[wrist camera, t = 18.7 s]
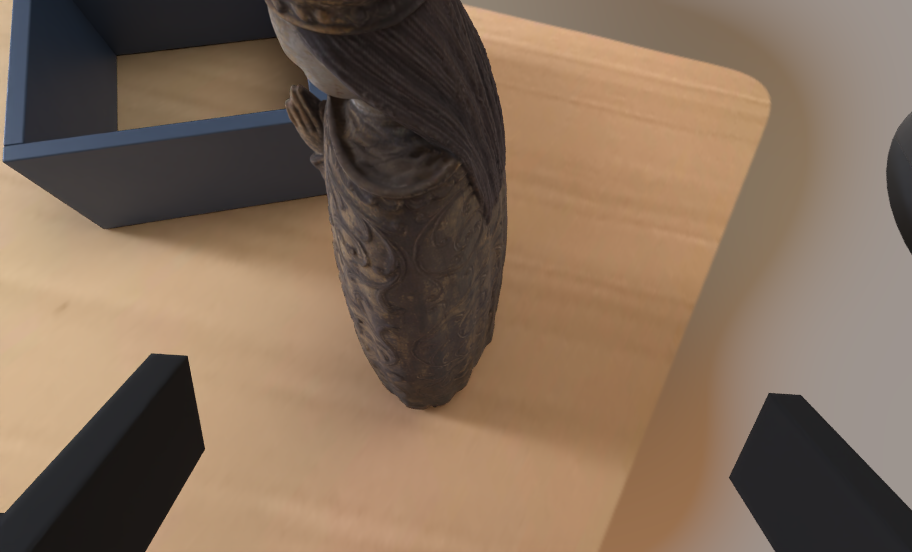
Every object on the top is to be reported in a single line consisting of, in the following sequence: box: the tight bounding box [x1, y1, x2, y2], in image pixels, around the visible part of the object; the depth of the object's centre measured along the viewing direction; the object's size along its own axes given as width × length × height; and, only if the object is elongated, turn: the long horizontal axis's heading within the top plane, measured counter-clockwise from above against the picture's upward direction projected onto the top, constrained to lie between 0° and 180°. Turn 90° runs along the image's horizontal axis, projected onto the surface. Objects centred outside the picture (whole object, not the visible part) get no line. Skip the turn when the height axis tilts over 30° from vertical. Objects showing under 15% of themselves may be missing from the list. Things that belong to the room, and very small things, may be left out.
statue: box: [265, 0, 507, 409], centre depth 15 cm, size 9×8×25 cm
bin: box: [3, 0, 327, 229], centre depth 26 cm, size 13×14×7 cm
